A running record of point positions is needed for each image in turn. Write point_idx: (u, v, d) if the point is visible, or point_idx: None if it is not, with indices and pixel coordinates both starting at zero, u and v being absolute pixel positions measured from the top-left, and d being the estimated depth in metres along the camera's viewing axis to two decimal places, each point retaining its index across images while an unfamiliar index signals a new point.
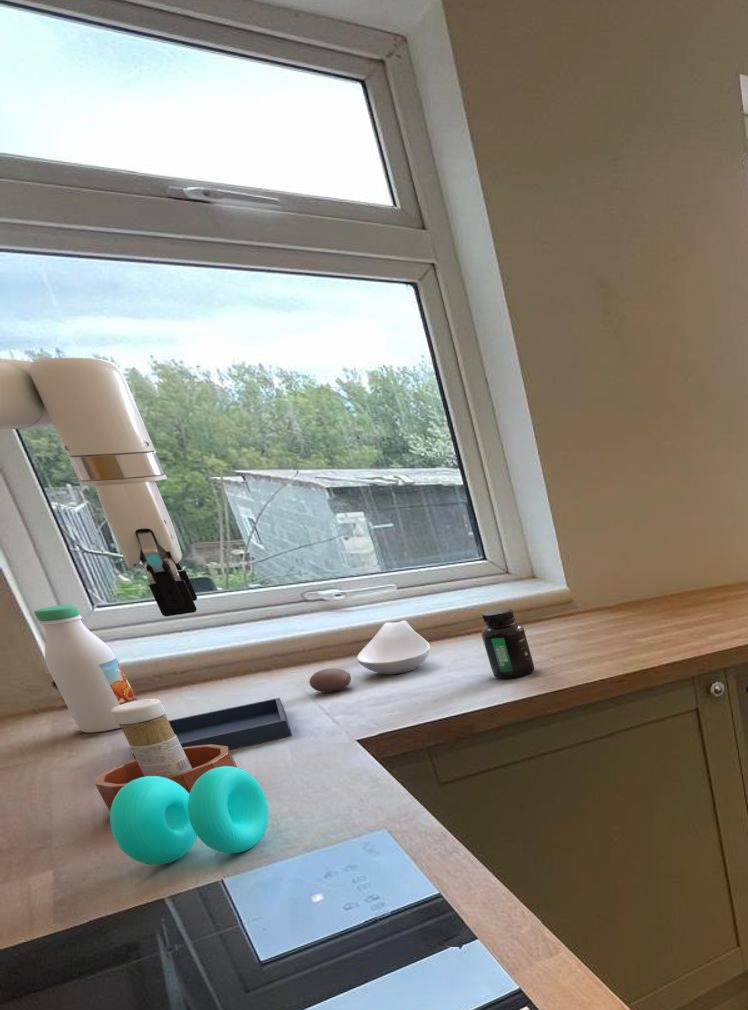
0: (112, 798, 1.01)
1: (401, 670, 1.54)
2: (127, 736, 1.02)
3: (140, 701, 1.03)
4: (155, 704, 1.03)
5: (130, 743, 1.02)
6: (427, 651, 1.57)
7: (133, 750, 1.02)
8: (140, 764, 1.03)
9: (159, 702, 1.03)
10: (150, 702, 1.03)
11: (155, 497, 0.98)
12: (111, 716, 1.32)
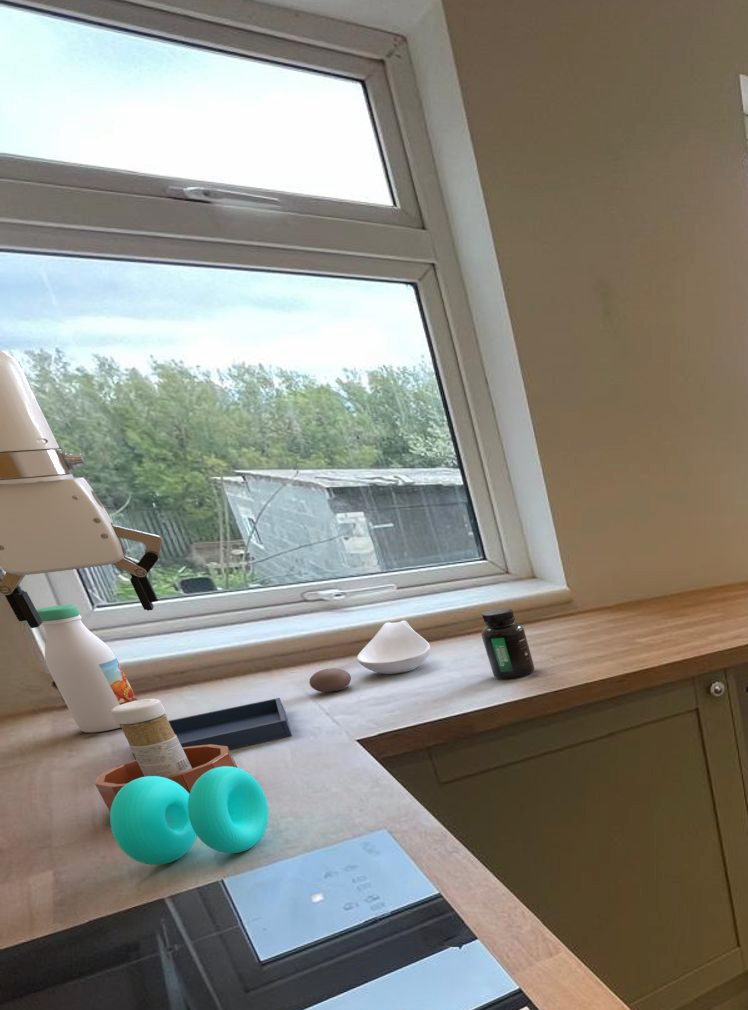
0: (112, 798, 1.01)
1: (401, 670, 1.54)
2: (127, 736, 1.02)
3: (140, 701, 1.03)
4: (155, 704, 1.03)
5: (130, 743, 1.02)
6: (427, 651, 1.57)
7: (133, 750, 1.02)
8: (140, 764, 1.03)
9: (159, 702, 1.03)
10: (150, 702, 1.03)
11: None
12: (111, 716, 1.32)
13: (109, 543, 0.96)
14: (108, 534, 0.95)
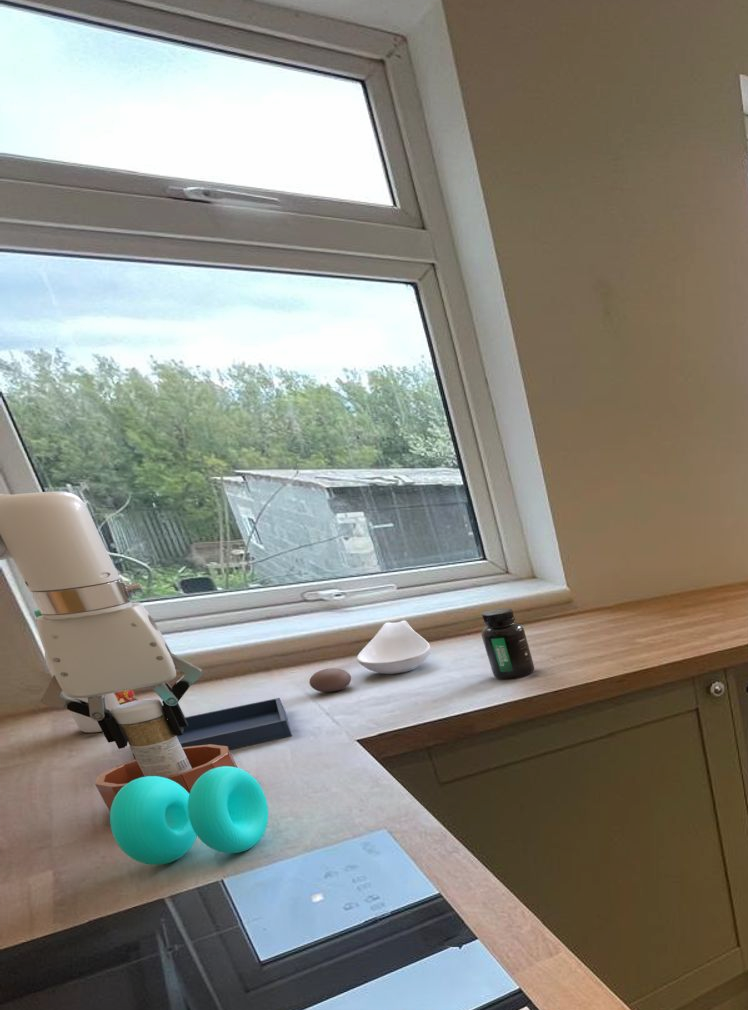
0: (112, 798, 1.01)
1: (401, 670, 1.54)
2: (127, 736, 1.02)
3: (140, 701, 1.03)
4: (155, 704, 1.03)
5: (130, 743, 1.02)
6: (427, 651, 1.57)
7: (133, 750, 1.02)
8: (140, 764, 1.03)
9: (159, 702, 1.03)
10: (150, 702, 1.03)
11: (52, 635, 0.95)
12: None
13: (164, 664, 1.02)
14: (163, 656, 1.01)
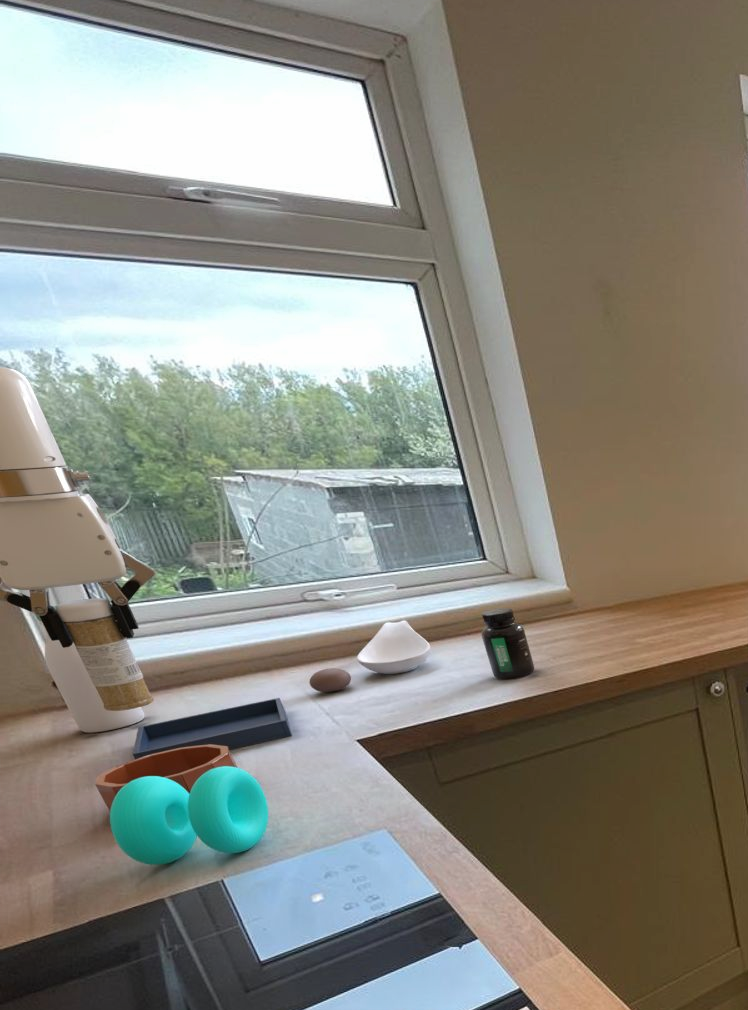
0: (112, 798, 1.01)
1: (401, 670, 1.54)
2: (72, 635, 0.97)
3: (87, 600, 0.98)
4: (103, 603, 0.97)
5: (75, 643, 0.97)
6: (427, 651, 1.57)
7: (78, 650, 0.97)
8: (86, 666, 0.98)
9: (107, 601, 0.98)
10: (97, 600, 0.97)
11: None
12: (111, 716, 1.32)
13: (112, 559, 0.96)
14: (112, 551, 0.96)
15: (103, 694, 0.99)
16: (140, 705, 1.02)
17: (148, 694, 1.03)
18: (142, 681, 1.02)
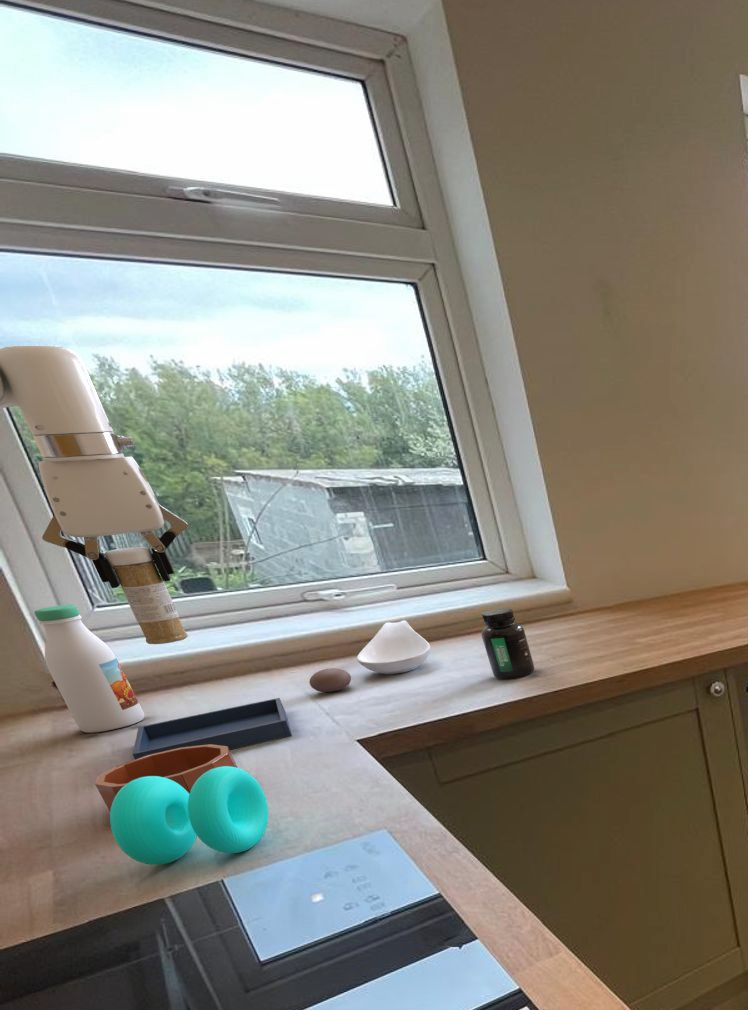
0: (112, 798, 1.01)
1: (401, 670, 1.54)
2: (119, 577, 1.13)
3: (131, 548, 1.15)
4: (144, 550, 1.14)
5: (122, 584, 1.14)
6: (427, 651, 1.57)
7: (125, 590, 1.14)
8: (131, 604, 1.15)
9: (148, 549, 1.15)
10: (140, 548, 1.14)
11: (52, 476, 1.06)
12: (111, 716, 1.32)
13: (152, 512, 1.13)
14: (152, 505, 1.13)
15: (145, 629, 1.16)
16: (176, 639, 1.18)
17: (183, 631, 1.19)
18: (178, 619, 1.19)
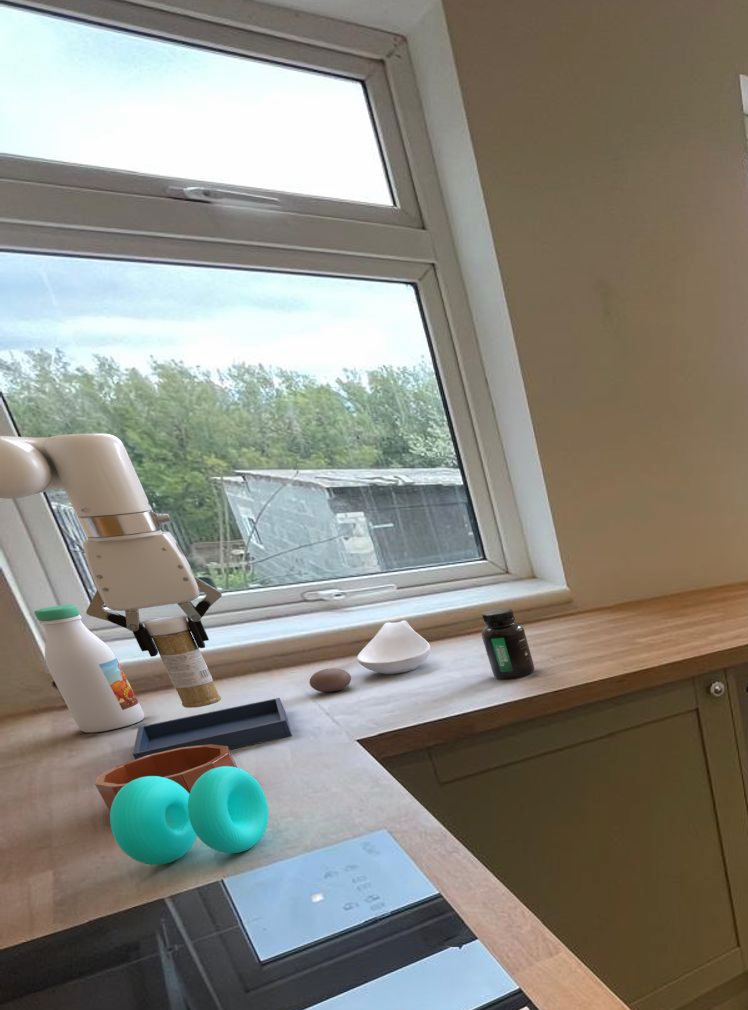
0: (112, 798, 1.01)
1: (401, 670, 1.54)
2: (158, 646, 1.19)
3: (168, 617, 1.20)
4: (181, 619, 1.20)
5: (160, 652, 1.20)
6: (427, 651, 1.57)
7: (163, 658, 1.20)
8: (168, 671, 1.21)
9: (184, 618, 1.21)
10: (177, 618, 1.20)
11: (96, 555, 1.12)
12: (111, 716, 1.32)
13: (189, 584, 1.19)
14: (188, 577, 1.19)
15: (182, 694, 1.22)
16: (211, 702, 1.24)
17: (217, 693, 1.25)
18: (212, 683, 1.25)
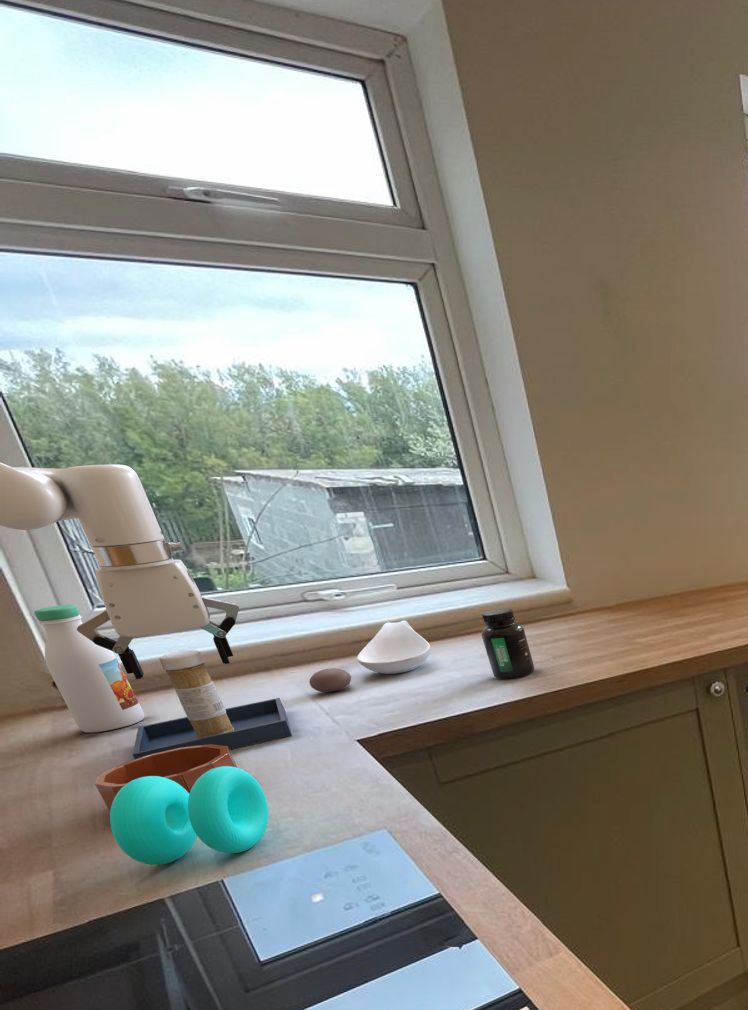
0: (112, 798, 1.01)
1: (401, 670, 1.54)
2: (172, 680, 1.21)
3: (183, 651, 1.22)
4: (196, 654, 1.22)
5: (175, 686, 1.22)
6: (427, 651, 1.57)
7: (177, 692, 1.22)
8: (183, 704, 1.23)
9: (199, 652, 1.23)
10: (191, 652, 1.22)
11: (108, 584, 1.13)
12: (111, 716, 1.32)
13: (199, 612, 1.20)
14: (199, 605, 1.20)
15: (196, 726, 1.24)
16: None
17: (230, 725, 1.27)
18: (225, 715, 1.27)
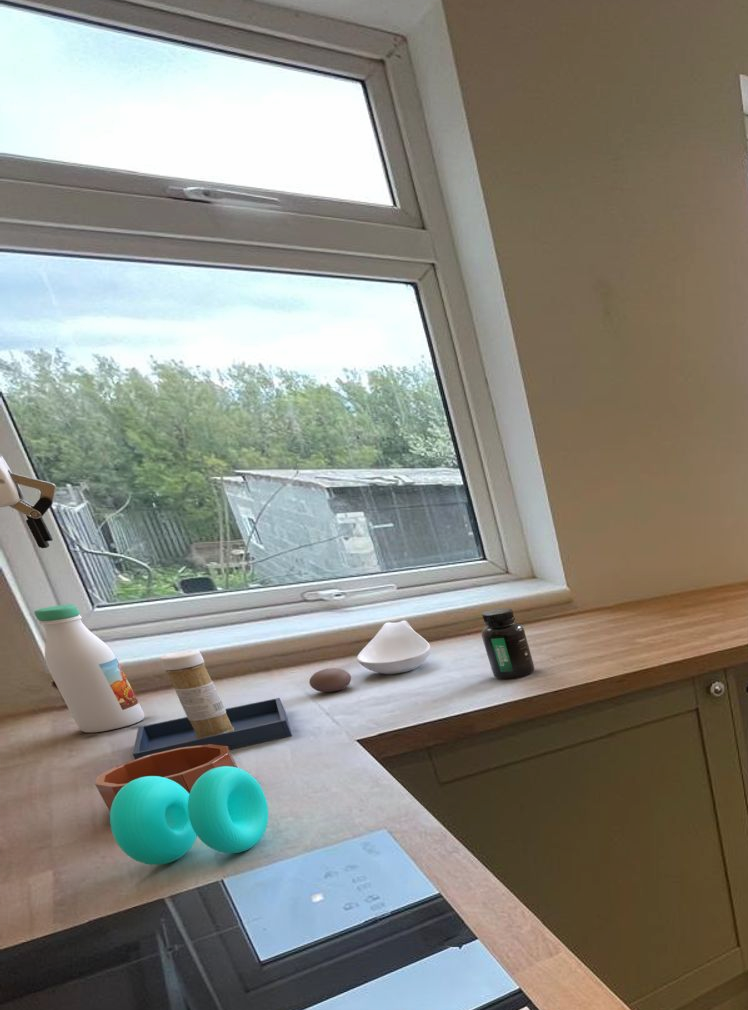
0: (112, 798, 1.01)
1: (401, 670, 1.54)
2: (172, 680, 1.21)
3: (183, 651, 1.22)
4: (196, 654, 1.22)
5: (175, 686, 1.22)
6: (427, 651, 1.57)
7: (177, 692, 1.22)
8: (183, 704, 1.23)
9: (199, 652, 1.23)
10: (191, 652, 1.22)
11: None
12: (111, 716, 1.32)
13: (6, 487, 1.11)
14: (5, 480, 1.11)
15: (196, 726, 1.24)
16: None
17: (230, 725, 1.27)
18: (225, 715, 1.27)
